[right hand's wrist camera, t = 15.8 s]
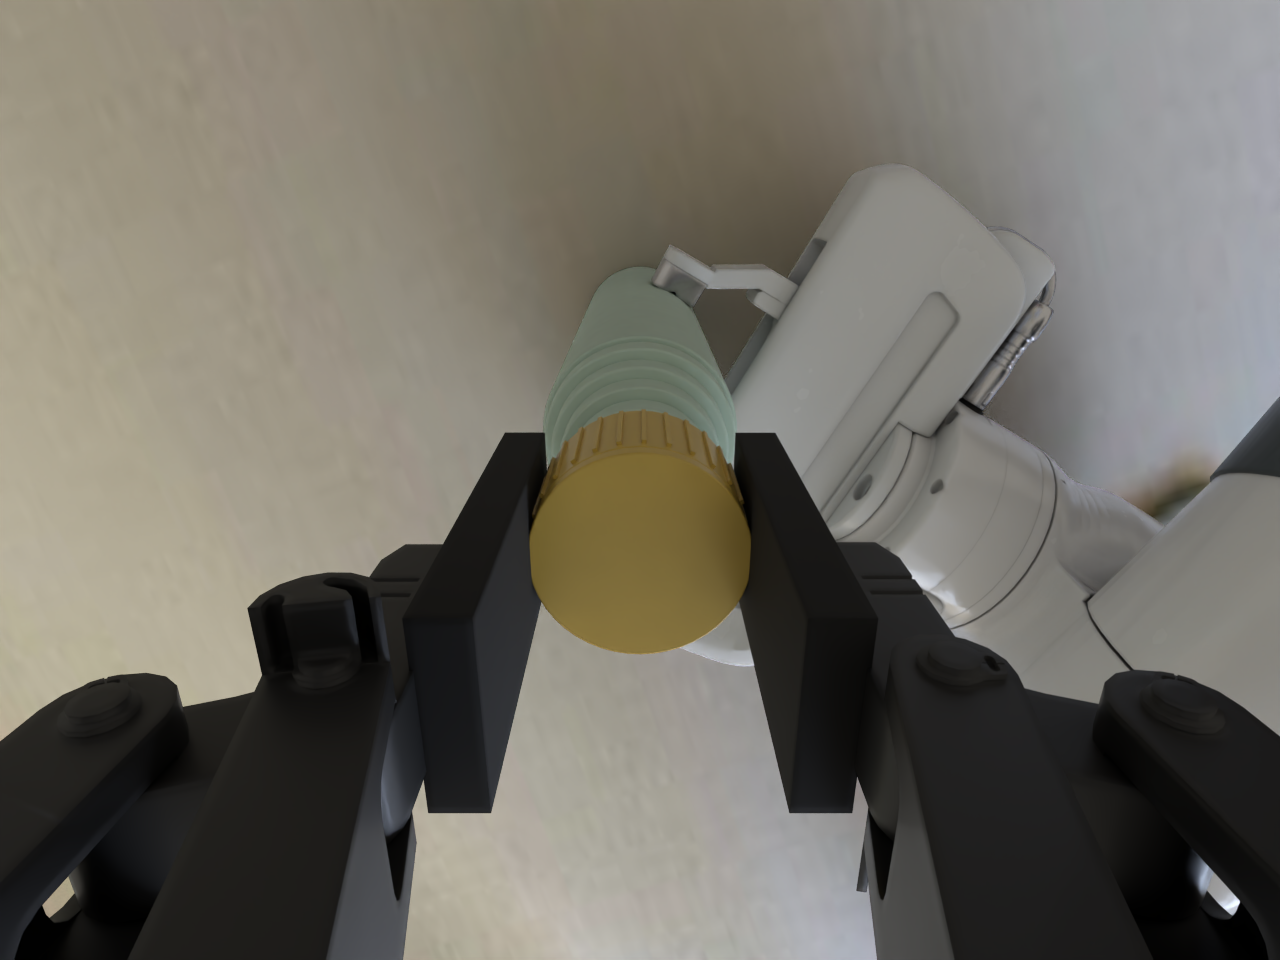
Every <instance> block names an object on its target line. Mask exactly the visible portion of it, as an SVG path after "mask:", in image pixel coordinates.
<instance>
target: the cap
mask: <svg viewBox="0 0 1280 960" xmlns="http://www.w3.org/2000/svg"><path fill="white" fill-rule="evenodd" d="M742 504H745V502H744V499H743V496H742V493H741V490H740V487H739V484H738V481H737V478H736V475H735V473H734V470H733V467H732V464H731V463H729V464H728V463H727V461H726V459H725V457H724V454H723V451H722V448H721V447H720V445H719V446H716V445H715V444H714V442H713V441H712V440H711V439H710V438H709V437H708V435H707V432H705V431H703V432H702V431H701V430H699V429H698V428H696V427H695V426H693V425H691V424H690V423H689V421H688V420H686V419H685V420H682V419H679V418H677V417H674V416H671V415H668V413H667V412H664V413H659V412H653V411H646V409H641V411H626V412H624V411H619V413H616V414H612V415H609V416H606V417H603V418H602V416H601V417H598V419H597V420H596V421H594V422H592V423H590V424H589V425H587V426H586V427H584V428H583V427H580V428H579V429H578V432H577V433H576V434H575V435H574V436H572V437H571V438H570V439H569V440H568V441H566V440H565V441H564V442H563V444H562V447H561V450H560V451H559V453H558V454H557V456H556V457H555V458H554V457H552V459H551V461H550V464H549V467H548V470H547V473H546V476H545V477H544V480H543V483H542V486H541V489H540V492H539V495H538V498H537V501H536V504H535V507H534V510H533V513H532V518H533V519H534V520H533V523H532V526H531V530H530V533H529V543H530V561H531V576H532V583H533V586H534V588H535V590H536V592H537V595H538V597H539V598H540V600H541V602H542V603H543V605H544V606H545V608H546V609H547V610H548V612H549V613H550V614H551V615H552V616H553V618H554V619H555V620H556V621H557V622H558V623H560V624H561V625H562V626H563V627H564V628H565V629H566V630H568V631H569V632H571V633H572V634H573V635H575V636H576V637H578V638H580V639H582V640H584V641H586V642H587V643H590V644H592V645H595V646H597V647H600V648H603V649H607V650H610V651H614V652H620V653H627V654H653V653H660V652H666V651H670V650H674V649H677V648H680V647H683V646H686V645H688V644H690V643H693V642H695V641H697V640H698V639H700V638H702V637H704V636H705V635H707V634H708V633H710V632H711V631H712V630H714V629H715V628H716V627H718V626H719V625H720V624H721V623H722V622H723V621H724V620H725V619H726V618H727V617H728V616H729V614H730V613H731V612H732V611H733V609H734V608H735V607H736V605H737V604H738V602H739V600H740V599H741V597H742V595H743V593H744V591H745V589H746V586H747V584H748V580H749V568H750V551H751V532H750V528H749V525H748V521H747V517H746V514H745V511H744V508H743V505H742Z"/></svg>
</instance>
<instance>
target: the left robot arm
mask: <svg viewBox="0 0 1280 960" xmlns="http://www.w3.org/2000/svg"><path fill="white" fill-rule="evenodd" d="M651 280H652V281H651V282H652V283H653V284H655V285H656V286H658V287H659V288H661V289H662V290H665V291H667V292H675V293H676V295H677V297H678V298H679V299H680V300H682V301H683V302H685V303H686V304H688V305H690V306H692V307H694V306H695V304H696V302H697V301H698V299H699V297H700V296H701V294H702V292H703V291H704V289H705V288H706V289H748V290H747V292H746V298H747V299H748V300H749V301H750V302H751V303H752V304H753V305H754V306H756V307H758V308H759V309H761V310H763V311H764V312H766V313H765V314H764V316H763V318H762V319H761V321H760V322H759V324H758V326H757V327H756V329H755V331H754V332H753V334H752V335H751V337H750V339H749V340H748V342H747V343H746V345H745V347H744V348H743V350H742V352H741V353H740V355H739V356H738V358H737V360H736V361H735V363H734V364H733V366H732V368H731V369H730V371H729V373H728V374H727V376H726V377H725V379H724V381H725V383H726V385H727V388H728V390H729V392H730V395H731V397H732V400H733V403H734V407H735V411H736V419H737V433H776V435H777V436H778V438H779V440H780V442H781V444H782V445H783V447H784V449H785V451H786V453H787V454H788V456H789V458H790V460H791V462H792V463H793V465H794V467H795V469H796V471H797V472H798V474H799V476H800V478H801V480H802V481H803V483H804V485H805V487H806V489H807V490H808V492H809V494H810V496H811V498H812V499H813V501H814V503H815V505H816V507H817V508H818V510H819V512H820V514H821V516H822V517H823V519H824V521H825V523H826V525H827V526H828V528H829V530H830V532H831V534H832V535H833V537H834V539H835V541H836V542H876V543H877V544H879V545H881V546H882V547H884V548H885V549H887V550H888V551H890V552H892V553H893V554H895V555H896V556H898V557H899V558H900V559H901V560H902V562H903V563H904V565H905V566H906V567H907V569H908V570H909V572H910V573H911V574H912V579H915V580H916V582H917V583H918V584H919V586H920V587H921V589H922V590H923V595H926V596H927V597H928V599H929V600H930V601H931V603H932V604H933V606H934V607H935V609H936V610H937V611H938V613H939V614H940V616H941V617H942V618H943V620H944V621H945V623H946V624H947V626H948V627H949V628H950V630H951V631H952V633H953V634H954V636H955V637H958V638H963V639H967V640H969V641H972V642H974V643H977V644H979V645H982V646H985V647H987V648H989V649H990V650H992V651H994V652H995V653H997V654H998V655H1000V656H1001V657H1003V658H1004V659H1006V660H1007V661H1008V663H1009V664H1010V665H1011V666H1012V668H1013V669H1014V670H1015V671H1016V673H1017V674H1018V676H1019V678H1020V680H1021V682H1022V684H1023V686H1024V688H1026V689H1030V690H1034V691H1038V692H1042V693H1046V694H1051V695H1056V696H1061V697H1066V698H1071V699H1076V700H1081V701H1087V702H1092V703H1097V704H1099V701H1100V697H1101V694H1102V690H1103V686H1104V683H1105V681H1107V680H1108V679H1109V678H1110V677H1111V676H1113V675H1114V674H1115V673H1119V672H1125V671H1130V670H1147V671H1162V672H1168V673H1173V674H1174V675H1176V676H1177V675H1181V676H1184V677H1188V678H1191V679H1193V680H1195V681H1197V682H1198V683H1200V684H1203V685H1205V686H1207V687H1210V688H1212V689H1214V690H1217V691H1219V692H1221V693H1222V694H1224V695H1225V696H1227V697H1228V698H1230V699H1231V700H1233V701H1235V702H1236V703H1238V704H1239V705H1241V706H1242V707H1244V708H1245V709H1246V710H1248V711H1249V712H1250V713H1251V714H1253V715H1254V716H1255V717H1256V718H1258V719H1259V720H1260V721H1261V722H1263V723H1264V724H1265V725H1266V726H1268V727H1269V728H1270V729H1271V730H1273V731H1274V732H1275V733H1276V734H1278V735H1279V736H1280V397H1279V398H1278V399H1277V400H1276V401H1275V403H1274V404H1273V405H1272V406H1271V407H1270V408H1269V410H1268V411H1267V412H1266V413H1265V414H1264V415H1263V416H1262V418H1261V419H1260V420H1259V421H1258V422H1257V423H1256V425H1255V426H1254V427H1253V428H1252V429H1251V430H1250V431H1249V433H1248V434H1247V435H1246V436H1245V437H1244V438H1243V440H1242V441H1241V442H1240V443H1239V444H1238V445H1237V447H1236V448H1235V449H1234V450H1233V451H1232V452H1231V453H1230V455H1229V456H1228V457H1227V458H1226V459H1225V460H1224V462H1223V463H1222V464H1221V465H1220V466H1219V467H1218V468H1217V470H1216V471H1215V472H1214V473H1213V474H1212V475H1211V477H1210V483H1209V484H1208V485H1207V486H1206V487H1205V488H1204V489H1203V490H1202V491H1201V492H1200V493H1199V494H1198V495H1197V496H1196V497H1195V498H1194V499H1193V500H1192V501H1191V502H1190V503H1189V504H1188V505H1187V506H1185V507H1184V508H1183V509H1182V510H1181V511H1180V512H1179V513H1178V514H1177V515H1176V516H1175V517H1174V518H1173V519H1172V520H1171V521H1170V522H1169V523H1168V524H1167V525H1166V526H1165V525H1163V524H1162V523H1160V522H1159V521H1157V520H1156V519H1154V518H1153V517H1151V516H1150V515H1148V514H1147V513H1145V512H1143V511H1142V510H1140V509H1139V508H1137V507H1135V506H1134V505H1132V504H1131V503H1129V502H1127V501H1126V500H1124V499H1122V498H1121V497H1119V496H1117V495H1115V494H1113V493H1111V492H1108V491H1106V490H1103V489H1100V488H1096V487H1092V486H1088V485H1083V484H1080V483H1077V482H1075V481H1073V480H1071V479H1070V478H1069V477H1068V476H1067V475H1066V474H1065V473H1064V472H1063V471H1062V469H1061V468H1060V467H1059V465H1058V464H1057V463H1056V462H1055V461H1054V460H1053V459H1052V458H1051V457H1050V456H1049V455H1047V454H1046V453H1045V452H1044V451H1042V450H1041V449H1039V448H1038V447H1036V446H1034V445H1033V444H1031V443H1029V442H1028V441H1026V440H1024V439H1023V438H1021V437H1020V436H1018V435H1016V434H1015V433H1013V432H1011V431H1010V430H1008V429H1006V428H1005V427H1003V426H1001V425H1000V424H998V423H996V422H995V421H993V420H991V419H989V418H988V417H986V416H984V415H983V414H984V413H982V411H983V410H984V409H985V407H986V406H987V405H988V403H989V402H990V401H991V399H992V398H993V397H994V395H995V394H996V393H997V391H998V390H999V389H1000V387H1001V386H1002V385H1003V384H1004V382H1005V381H1006V379H1007V378H1008V376H1009V375H1010V373H1011V372H1010V371H1011V370H1013V368H1014V366H1015V365H1014V364H1016V363H1017V361H1018V360H1019V359H1018V358H1019V357H1021V355H1022V354H1023V351H1025V350H1026V349H1027V347H1028V346H1029V345H1030V344H1031V342H1034V341H1035V340H1036V339H1037V338H1038V337H1039V336H1040V335H1041V333H1042V332H1043V331H1044V329H1045V328H1046V326H1047V325H1048V323H1049V321H1050V319H1051V317H1052V315H1053V313H1054V310H1053V309H1052V308H1050V307H1049V305H1050V303H1051V301H1052V298H1053V295H1054V292H1055V287H1056V272H1055V265H1054V263H1053V261H1052V260H1051V258H1050V257H1049V256H1048V255H1047V253H1046V252H1045V251H1044V250H1043V249H1041V248H1040V247H1038V246H1037V245H1035V244H1034V243H1032V242H1031V241H1029V240H1028V239H1026V238H1025V237H1023V236H1022V235H1020V234H1019V233H1017V232H1016V231H1014V230H1011V229H1009V228H1005V227H985V226H984V225H983V224H982V223H981V222H980V221H979V220H978V219H977V218H976V217H975V216H973V215H972V214H971V213H970V212H969V211H968V210H967V209H966V208H965V207H964V206H962V205H961V204H960V203H959V202H958V201H957V200H956V199H954V198H953V197H952V196H951V195H950V194H948V193H947V192H946V191H945V190H944V189H942V188H941V187H940V186H938V185H937V184H936V183H934V182H933V181H932V180H930V179H929V178H928V177H926V176H925V175H923V174H922V173H921V172H919V171H917V170H916V169H914V168H912V167H910V166H907V165H903V164H896V163H892V164H883V165H878V166H874V167H870V168H867V169H864V170H860V171H857V172H856V173H854V174H853V175H852V176H850V178H849V179H848V180H847V182H846V184H845V185H844V187H843V188H842V190H841V191H840V193H839V195H838V196H837V198H836V200H835V201H834V203H833V204H832V206H831V208H830V209H829V211H828V212H827V214H826V216H825V217H824V219H823V221H822V222H821V224H820V225H819V227H818V229H817V230H816V232H815V233H814V235H813V237H812V238H811V240H810V242H809V243H808V245H807V246H806V248H805V250H804V251H803V253H802V255H801V256H800V258H799V259H798V261H797V263H796V264H795V266H794V267H793V269H792V271H791V272H790V274H789V276H788V277H787V278H785V277H784V276H782V275H780V274H779V273H777V272H775V271H774V270H772V269H770V268H769V267H767V266H765V265H763V264H716V265H712V266H711V267H709V266H707V265H705V264H704V263H702V262H700V261H699V260H697V259H695V258H694V257H692V256H690V255H689V254H687V253H685V252H684V251H682V250H680V249H679V248H677V247H675V246H673V245H671V244H670V245H669V247H668V249H667V251H666V253H665V254H664V256H663V258H662V260H661V262H660V263H659V265H658V267H657V269H656V271H655V273H654V275H653V277H652V279H651ZM1042 289H1043V291H1042V294H1041V297H1040V299H1039V301H1038V300H1035V299H1036V297H1037V296H1038V295H1039V293H1040V292H1041V290H1042ZM732 467H733V470H734V458H733V462H732ZM680 648H681V649H684V650H687V651H689V652H692V653H694V654H697V655H700V656H703V657H705V658H708V659H711V660H714V661H717V662H721V663H724V664H729V665H734V666H754V662H753V658H752V654H751V650H750V646H749V641H748V637H747V633H746V629H745V625H744V621H743V616H742V612H741V608H740V604H739V602H738V604H737V605H736V607H735V608H734V609H733V611H732V612H731V613H730V614H729V616H728V617H727V618H726V619H725V620H724V621H723V622H722V623H721V624H720V625H719V626H718V627H716V628H715V629H714V630H712V631H711V632H710V633H708V634H707V635H705V636H704V637H702V638H700V639H698V640H697V641H695V642H693V643H690V644H688V645H686V646H683V647H680ZM1207 891H1208V892H1209V893H1210V894H1211V895H1212V897H1213V898H1214V899H1215V900H1216V901H1217V902H1218V904H1219V905H1220V906H1222V907H1223V908H1224V909H1225V910H1226V911H1227V912H1228V913H1229V914H1231V915H1234V913H1235V912H1236V910H1237V908H1238V905H1239V903H1240V901H1239V899H1238V898H1237V897H1236V896H1235V895H1234V894H1233V893H1232V892H1231V891H1230V890H1229V888H1228V887H1227V886H1226V885H1225V884H1224V883H1223V882H1222V881H1221V880H1220V879H1219V877H1218V876H1217V875H1216V874H1215V873H1213V876H1212V878H1211V881H1210V883H1209V886H1208V889H1207Z"/></svg>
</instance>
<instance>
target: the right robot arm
mask: <svg viewBox="0 0 1280 960" xmlns="http://www.w3.org/2000/svg"><path fill="white" fill-rule="evenodd" d="M546 473H547V464H546V444H545V433H505V434H504V435H503V437H502V439H501V441H500V443H499V444H498V446H497V448H496V450H495V452H494V453H493V455H492V457H491V459H490V461H489V462H488V464H487V466H486V468H485V470H484V472H483V473H482V475H481V477H480V479H479V481H478V482H477V484H476V486H475V488H474V490H473V491H472V493H471V495H470V497H469V499H468V500H467V502H466V504H465V506H464V508H463V509H462V511H461V513H460V515H459V517H458V518H457V520H456V522H455V524H454V526H453V527H452V529H451V531H450V533H449V535H448V536H447V538H446V540H445V542H444V544H406V545H404V546H402V547H401V548H399V549H398V550H396V551H395V552H393V553H391V554H390V555H388V556H387V557H385V558H384V559H382V560H381V561H380V563H379V564H378V565H377V567H376V568H375V570H374V571H373V573H372V574H371V575H370V577H366V576H362V575H358V574H354V573H322V574H316V575H310V576H304V577H301V578H298V579H295V580H292V581H289V582H286V583H283V584H280V585H278V586H276V587H274V588H272V589H271V590H269V591H267V592H265V593H264V594H262V595H260V596H259V597H258V598H257V599H256V600H255V601H254V602H253V603H252V604H251V605H250V606H249V607H248V613H249V617H250V622H251V626H252V631H253V636H254V640H255V645H256V649H257V654H258V658H259V663H260V667H261V672H262V677H261V679H260V681H259V683H258V685H257V687H256V689H255V692H252V693H248V694H244V695H240V696H236V697H232V698H226V699H221V700H216V701H211V702H206V703H201V704H196V705H191V706H185V707H183V706H182V702H181V699H180V695H179V691H178V688H177V685H176V684H174V683H173V682H172V681H171V680H170V679H168V678H167V677H166V676H160V675H155V674H150V673H139V674H127V675H116V676H111V677H108V678H107V679H104V678H102V679H99V680H96V681H92V682H90V683H87V684H86V685H84V686H82V687H80V688H78V689H75V690H73V691H71V692H68V693H66V694H64V695H62V696H60V697H59V698H57V699H56V700H54V701H53V702H51V703H50V704H48V705H47V706H45V707H43V708H42V709H40V710H39V711H38V712H36V713H35V714H34V715H33V716H31V717H30V718H29V719H28V720H26V721H25V722H24V723H23V724H21V725H20V726H19V727H18V728H16V729H15V730H14V731H13V732H11V733H10V734H9V735H8V736H6V737H5V738H4V739H3V740H1V741H0V960H403V955H404V946H405V938H406V929H407V920H408V912H409V903H410V895H411V886H412V877H413V869H414V860H415V851H416V843H417V842H416V835H415V829H414V822H413V815H412V809H413V807H414V804H415V801H416V799H417V796H418V793H419V790H420V788H421V785H422V782H423V779H424V785H425V792H426V800H427V807H428V813H491V811H492V807H493V802H494V798H495V794H496V790H497V786H498V781H499V777H500V773H501V769H502V765H503V760H504V756H505V752H506V748H507V744H508V740H509V735H510V731H511V727H512V723H513V719H514V714H515V710H516V706H517V702H518V698H519V693H520V689H521V685H522V681H523V677H524V673H525V668H526V664H527V660H528V656H529V652H530V647H531V643H532V639H533V635H534V631H535V626H536V622H537V618H538V614H539V610H540V606H541V600H540V598H539V597H538V595H537V592H536V590H535V588H534V586H533V583H532V576H531V561H530V543H529V533H530V530H531V526H532V523H533V520H534V519H533V518H532V513H533V510H534V507H535V504H536V501H537V498H538V495H539V492H540V489H541V486H542V483H543V480H544V477H545V476H546ZM734 473H735V475H736V478H737V481H738V484H739V487H740V490H741V493H742V496H743V499H744V502H745V504H742V505H743V508H744V511H745V514H746V517H747V521H748V525H749V528H750V532H751V551H750V568H749V580H748V584H747V586H746V589H745V591H744V593H743V595H742V597H741V599H740V600H739V604H740V608H741V612H742V616H743V621H744V625H745V629H746V633H747V637H748V641H749V646H750V650H751V654H752V658H753V662H754V667H755V671H756V675H757V679H758V683H759V687H760V692H761V696H762V700H763V704H764V708H765V713H766V717H767V721H768V725H769V729H770V733H771V738H772V742H773V746H774V750H775V754H776V759H777V763H778V767H779V771H780V775H781V779H782V784H783V788H784V792H785V796H786V800H787V805H788V809H789V813H852V811H853V803H854V796H855V788H856V781H857V777H858V780H859V783H860V785H861V788H862V791H863V793H864V796H865V799H866V801H867V804H868V807H869V808H868V815H867V822H866V829H865V835H864V842H863V849H862V856H861V863H860V870H859V877H858V884H857V891H861V892H866V891H867V886H868V884H869V893H870V902H871V910H872V919H873V927H874V936H875V945H876V953H877V960H1280V736H1279V735H1278V734H1276V733H1275V732H1274V731H1273V730H1271V729H1270V728H1269V727H1268V726H1266V725H1265V724H1264V723H1263V722H1261V721H1260V720H1259V719H1258V718H1256V717H1255V716H1254V715H1253V714H1251V713H1250V712H1249V711H1248V710H1246V709H1245V708H1244V707H1242V706H1241V705H1239V704H1238V703H1236V702H1235V701H1233V700H1231V699H1230V698H1228V697H1227V696H1225V695H1224V694H1222V693H1221V692H1219V691H1217V690H1214V689H1212V688H1210V687H1207V686H1205V685H1203V684H1200V683H1198V682H1197V681H1195V680H1193V679H1191V678H1188V677H1184V676H1181V675H1177V676H1176V675H1174V674H1173V673H1168V672H1162V671H1147V670H1130V671H1125V672H1119V673H1115V674H1114V675H1113V676H1111V677H1110V678H1109V679H1108V680H1107V681H1105V683H1104V686H1103V690H1102V694H1101V697H1100V701H1099V704H1097V703H1092V702H1087V701H1081V700H1076V699H1071V698H1066V697H1061V696H1056V695H1051V694H1046V693H1042V692H1038V691H1034V690H1030V689H1026V688H1024V686H1023V684H1022V682H1021V680H1020V678H1019V676H1018V674H1017V673H1016V671H1015V670H1014V669H1013V668H1012V666H1011V665H1010V664H1009V663H1008V661H1007V660H1006V659H1004V658H1003V657H1001V656H1000V655H998V654H997V653H995V652H994V651H992V650H990V649H989V648H987V647H985V646H982V645H979V644H977V643H974V642H972V641H969V640H967V639H963V638H958V637H955V636H954V634H953V633H952V631H951V630H950V628H949V627H948V626H947V624H946V623H945V621H944V620H943V618H942V617H941V616H940V614H939V613H938V611H937V610H936V609H935V607H934V606H933V604H932V603H931V601H930V600H929V599H928V597H927V596H926V595H923V590H922V589H921V587H920V586H919V584H918V583H917V582H916V580H915V579H912V574H911V573H910V572H909V570H908V569H907V567H906V566H905V565H904V563H903V562H902V560H901V559H900V558H899V557H898V556H896V555H895V554H893V553H892V552H890V551H888V550H887V549H885V548H884V547H882V546H881V545H879V544H877V543H876V542H836V541H835V539H834V537H833V535H832V534H831V532H830V530H829V528H828V526H827V525H826V523H825V521H824V519H823V517H822V516H821V514H820V512H819V510H818V508H817V507H816V505H815V503H814V501H813V499H812V498H811V496H810V494H809V492H808V490H807V489H806V487H805V485H804V483H803V481H802V480H801V478H800V476H799V474H798V472H797V471H796V469H795V467H794V465H793V463H792V462H791V460H790V458H789V456H788V454H787V453H786V451H785V449H784V447H783V445H782V444H781V442H780V440H779V438H778V436H777V435H776V433H735V453H734ZM1213 873H1215V874H1216V875H1217V876H1218V877H1219V879H1220V880H1221V881H1222V882H1223V883H1224V884H1225V885H1226V886H1227V887H1228V888H1229V890H1230V891H1231V892H1232V893H1233V894H1234V895H1235V896H1236V897H1237V898H1238V899H1239V901H1240V903H1239V905H1238V908H1237V910H1236V912H1235V913H1234V915H1231V914H1229V913H1228V912H1227V911H1226V910H1225V909H1224V908H1223V907H1222V906H1220V905H1219V904H1218V902H1217V901H1216V900H1215V899H1214V898H1213V897H1212V895H1211V894H1210V893H1209V892H1208V891H1207V889H1208V886H1209V883H1210V881H1211V878H1212V876H1213ZM68 876H69V879H70V882H71V884H72V887H73V890H74V892H75V894H74V895H73V896H72V897H71V898H70V899H69V900H68V902H67V903H66V904H65V905H64V906H63V907H62V908H61V909H60V910H59V911H57V912H56V913H55V914H54V915H53V916H51V917H50V918H49V917H48V916H47V915H46V914H45V911H44V909H43V906H42V905H43V904H44V902H45V901H46V900H47V899H48V898H49V897H50V896H51V895H52V894H53V892H54V891H55V890H56V889H57V888H58V887H59V886H60V885H61V884H62V882H63V881H64V880H65V879H66V878H67V877H68Z"/></svg>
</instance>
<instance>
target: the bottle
mask: <svg viewBox="0 0 1280 960" xmlns="http://www.w3.org/2000/svg"><path fill="white" fill-rule="evenodd" d="M655 271H656V269H654V268H649V267H631V268H627V269H624V270H621V271H618V272H616V273H614V274H613V275H611V276H610V277H608V278H607V279H606V280H605V281H604V282H603V283H602V284H601V285H600V286H599V287H598V289H597V290H596V292H595V294H594V296H593V298H592V300H591V302H590V304H589V307H588V309H587V311H586V313H585V316H584V318H583V320H582V322H581V325H580V327H579V329H578V331H577V334H576V336H575V338H574V340H573V343H572V345H571V347H570V349H569V352H568V354H567V356H566V359H565V361H564V363H563V365H562V368H561V370H560V372H559V374H558V377H557V379H556V381H555V383H554V386H553V388H552V390H551V392H550V395H549V398H548V401H547V404H546V408H545V413H544V421H543V433H545V444H546V457H547V461H548V465H549V464H550V461H551V459H552V457H554V458H555V457H556V456H557V454H558V453H559V451H560V450H561V447H562V444H563V442H564V441H565V440H566V441H568V440H569V439H570V438H571V437H572V436H574V435H575V434H576V433H577V432H578V429H579V428H580V427H583V428H584V427H586V426H587V425H589V424H590V423H592V422H594V421H596V420H597V419H598V417H601V416H602V418H603V417H606V416H609V415H612V414H616V413H619V411H624V412H626V411H641V409H646V411H653V412H659V413H664V412H667V413H668V415H671V416H674V417H677V418H679V419H682V420H685V419H686V420H688V421H689V423H690V424H691V425H693V426H695V427H696V428H698V429H699V430H701V431H702V432H703V431H705V432H707V435H708V437H709V438H710V439H711V440H712V441H713V442H714V444H715V445H716V446H719V445H720V447H721V448H722V451H723V454H724V457H725V459H726V461H727V463H728V464H729V463H731V464H732V462H733V458H734V453H735V433H737V419H736V411H735V407H734V403H733V400H732V397H731V395H730V392H729V390H728V388H727V385H726V383H725V381H724V379H723V376H722V374H721V372H720V369H719V367H718V365H717V363H716V360H715V358H714V356H713V354H712V351H711V349H710V347H709V345H708V342H707V340H706V338H705V336H704V333H703V331H702V329H701V326H700V324H699V322H698V320H697V317H696V315H695V313H694V311H693V308H692V306H690V305H688V304H686V303H685V302H683V301H682V300H680V299H679V298H678V297H677V295H676V293H675V292H667V291H665V290H662V289H661V288H659V287H658V286H656V285H655V284H653V283H652V282H651V281H652V280H651V279H652V277H653V275H654V273H655Z"/></svg>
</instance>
